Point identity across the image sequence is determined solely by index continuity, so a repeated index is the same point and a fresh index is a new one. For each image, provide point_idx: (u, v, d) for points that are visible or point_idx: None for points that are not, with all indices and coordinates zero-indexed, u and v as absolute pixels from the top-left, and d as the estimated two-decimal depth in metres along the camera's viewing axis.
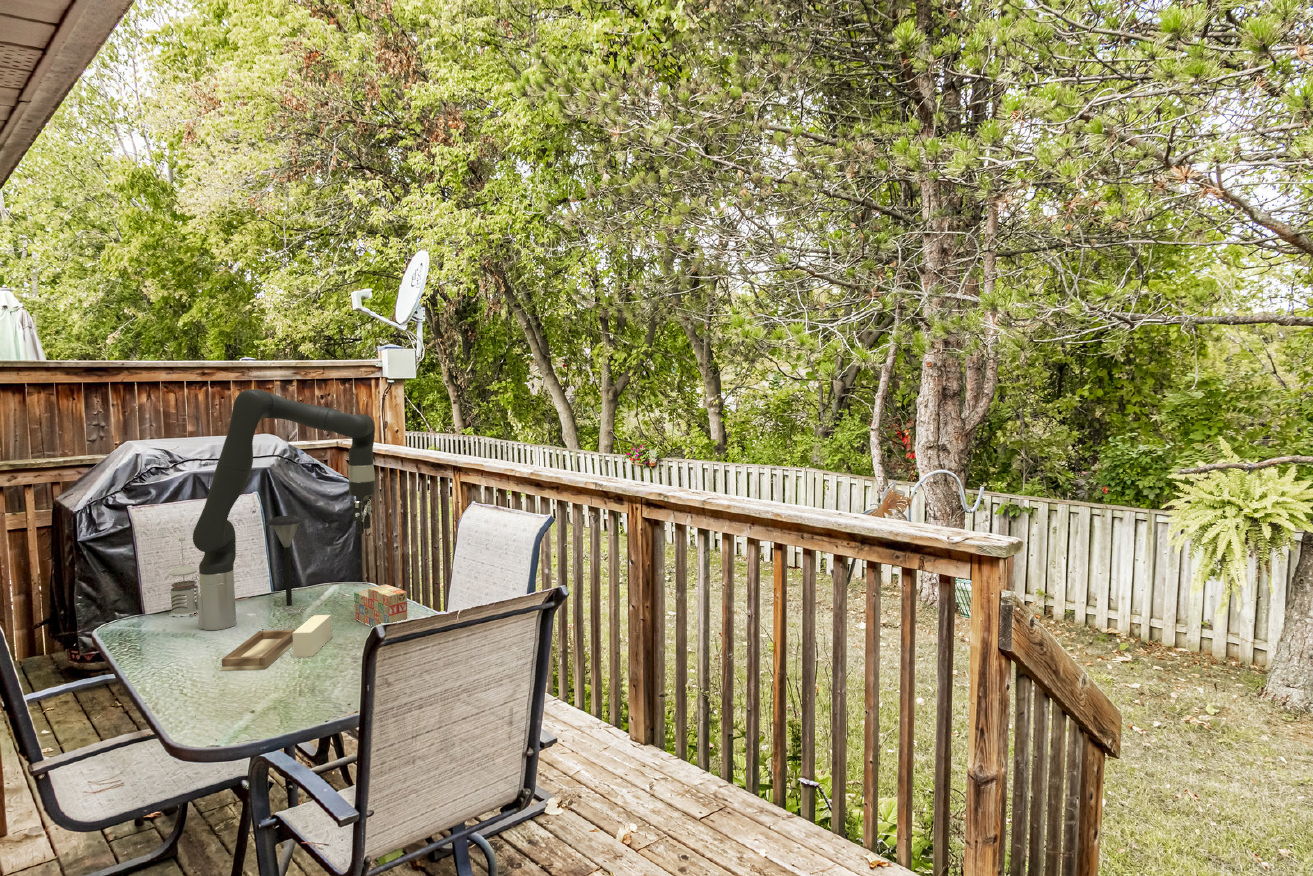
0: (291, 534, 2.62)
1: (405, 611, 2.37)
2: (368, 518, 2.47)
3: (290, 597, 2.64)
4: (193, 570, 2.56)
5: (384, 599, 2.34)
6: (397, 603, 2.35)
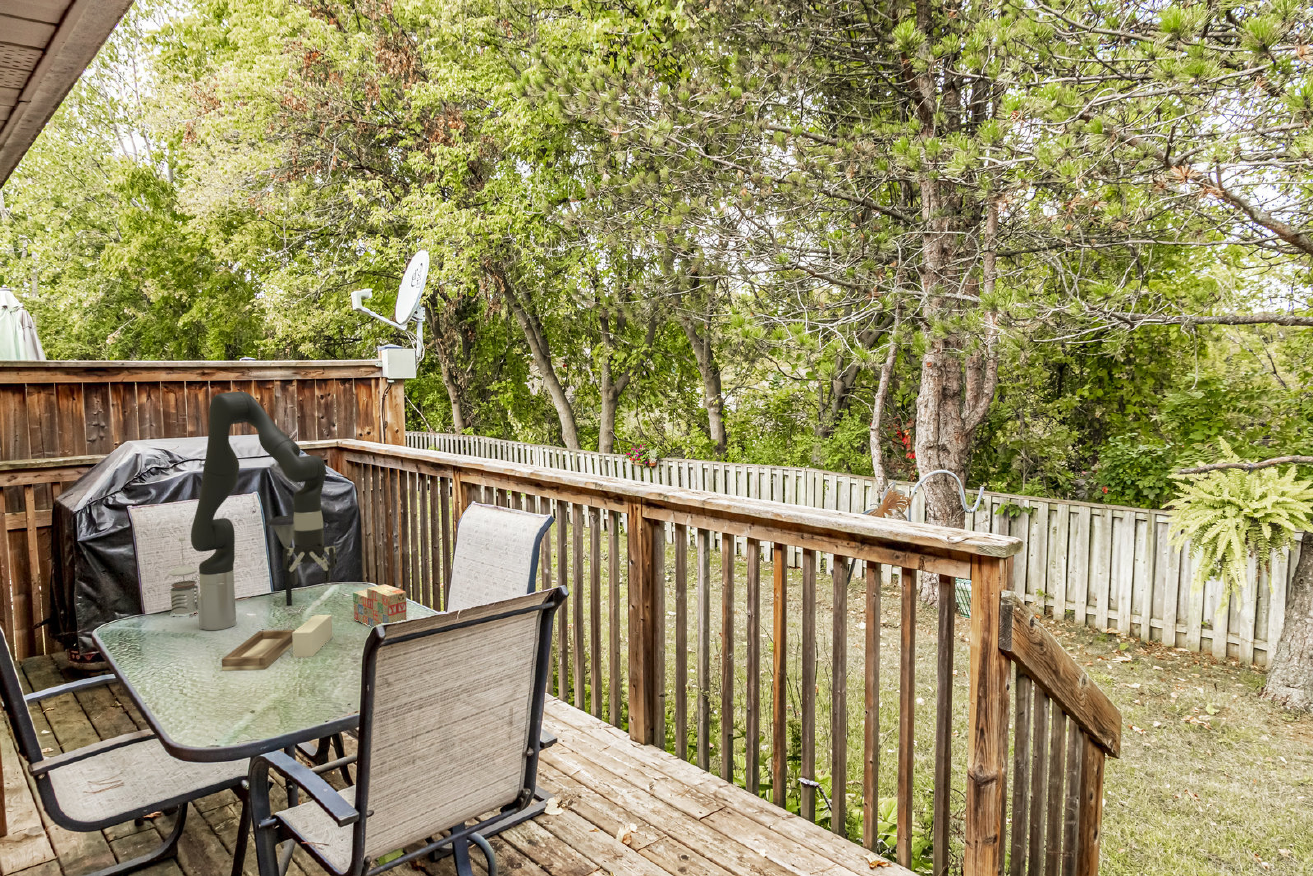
0: (291, 534, 2.62)
1: (404, 611, 2.37)
2: (296, 571, 2.22)
3: (290, 597, 2.64)
4: (193, 570, 2.56)
5: (383, 599, 2.34)
6: (396, 603, 2.35)
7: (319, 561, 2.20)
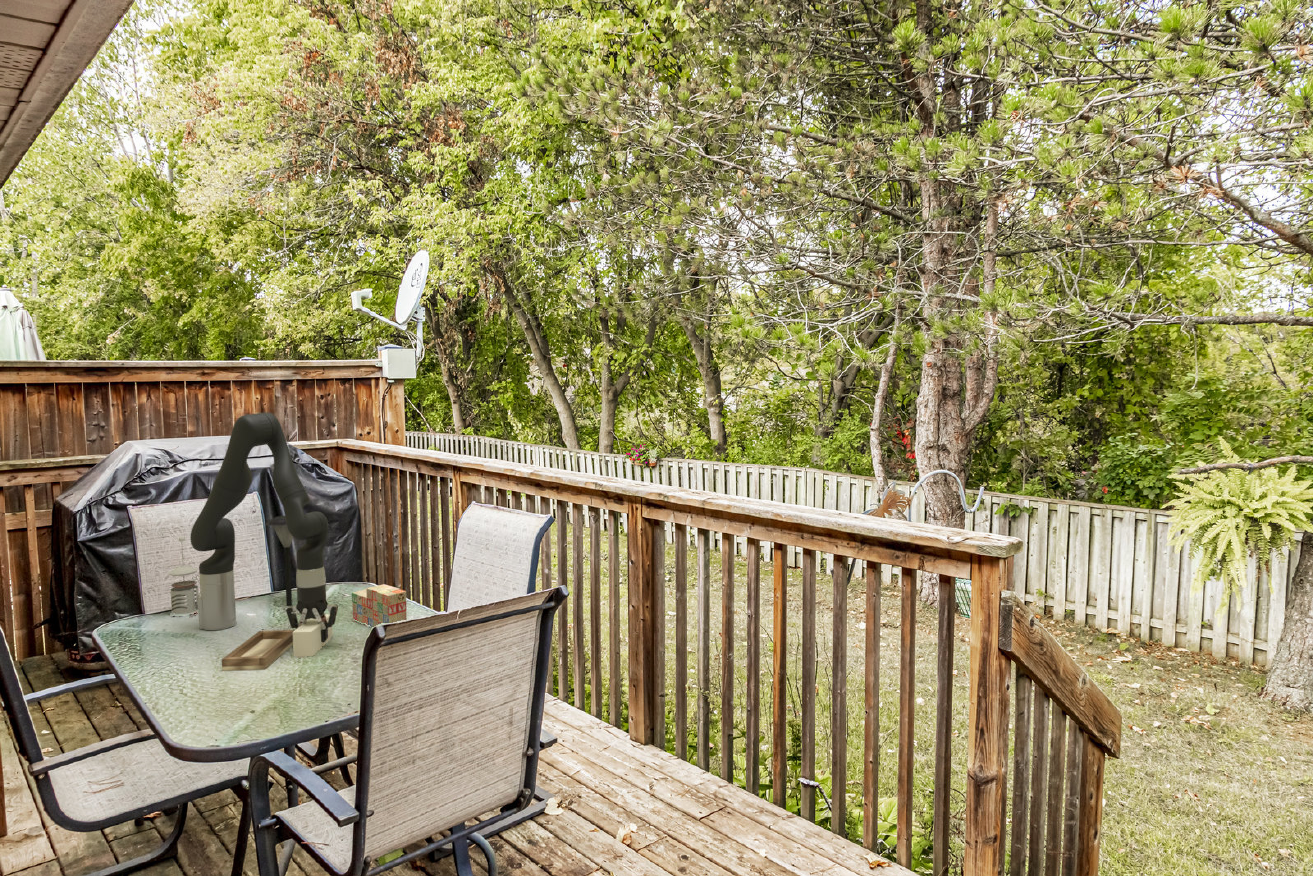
0: None
1: (404, 611, 2.37)
2: None
3: (290, 597, 2.64)
4: (193, 570, 2.56)
5: (384, 599, 2.34)
6: (397, 603, 2.35)
7: (319, 619, 2.22)
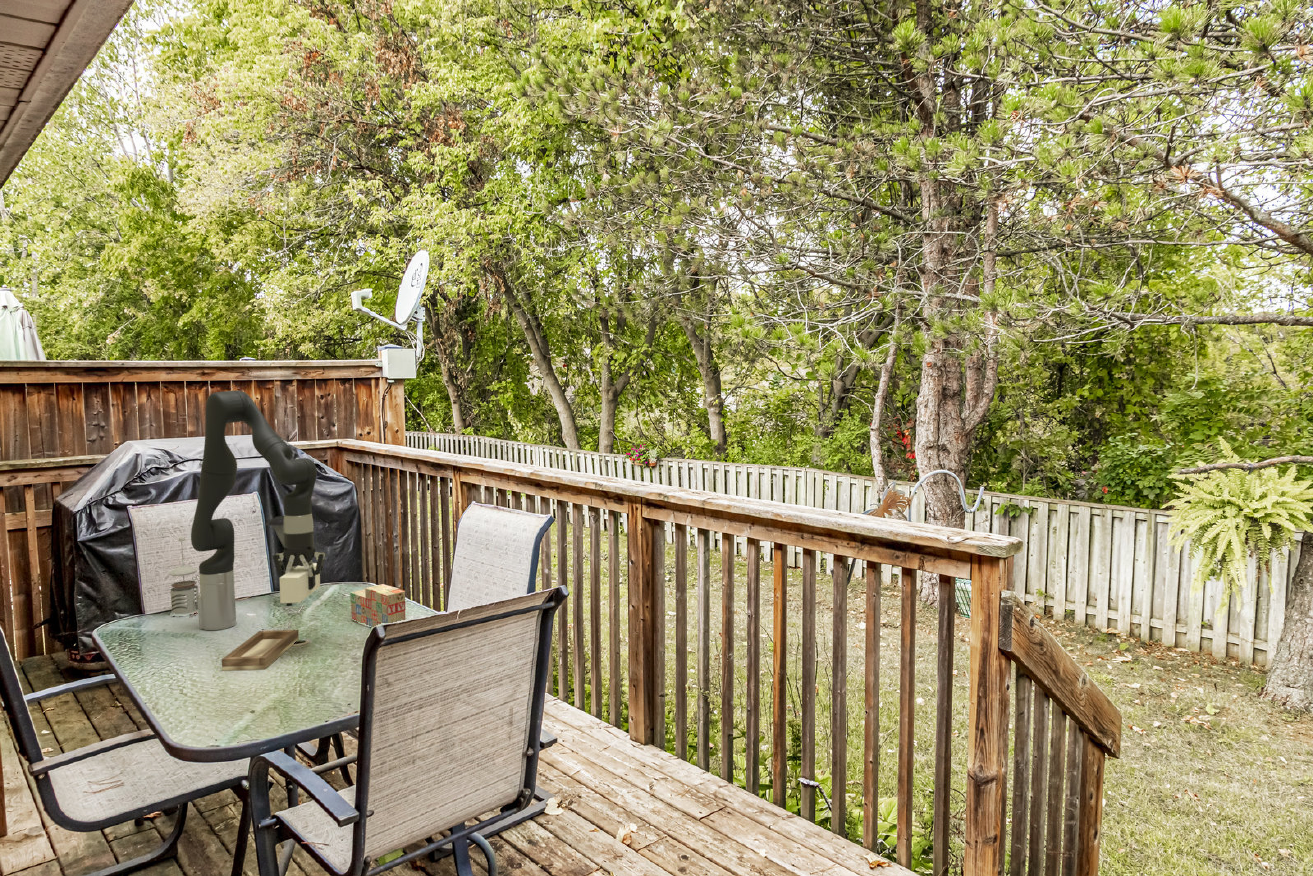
0: None
1: (403, 610, 2.38)
2: None
3: None
4: (193, 570, 2.56)
5: (383, 599, 2.34)
6: (396, 602, 2.35)
7: (306, 566, 2.20)
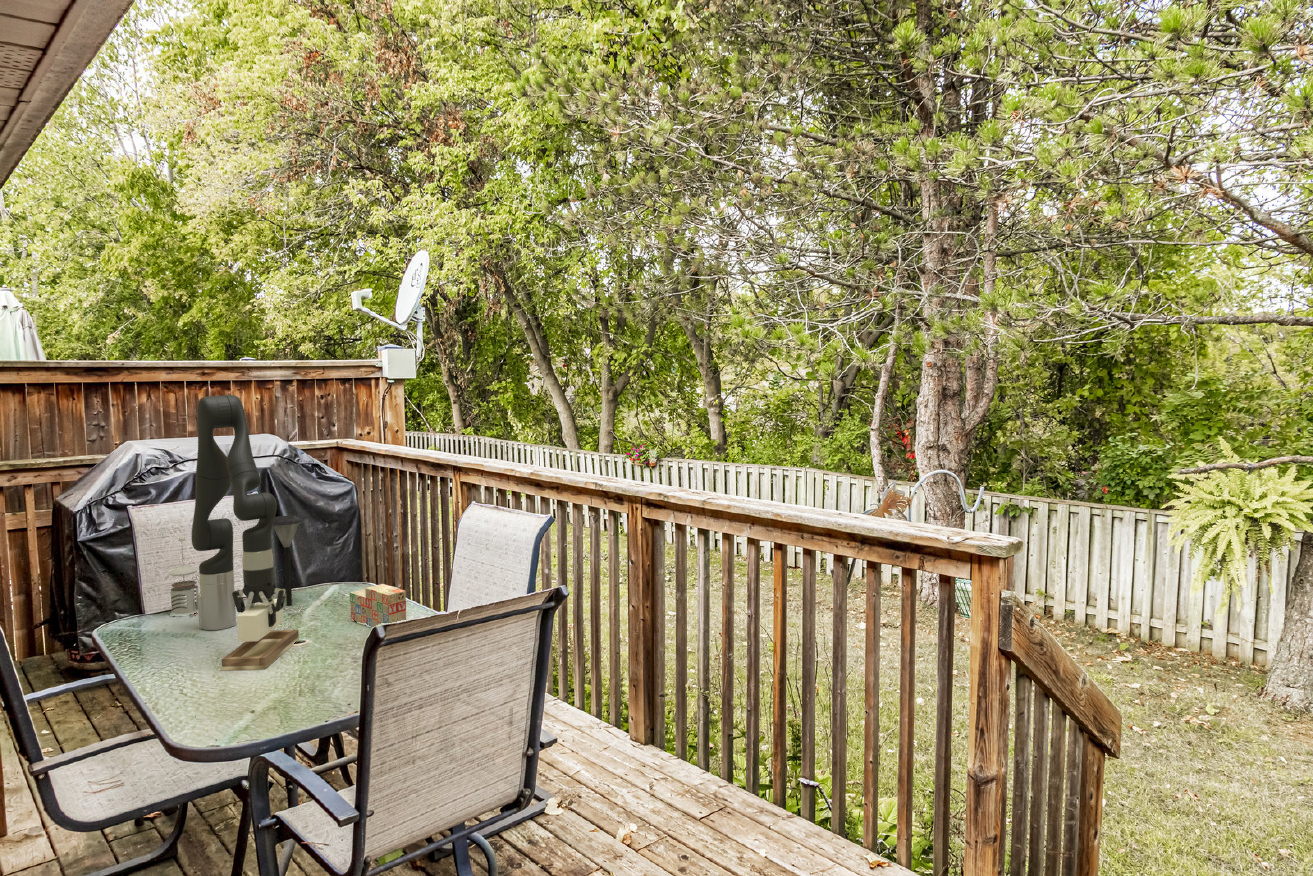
0: (291, 534, 2.62)
1: (404, 610, 2.38)
2: None
3: (290, 597, 2.64)
4: (193, 570, 2.56)
5: (383, 598, 2.35)
6: (396, 602, 2.36)
7: (266, 603, 2.15)
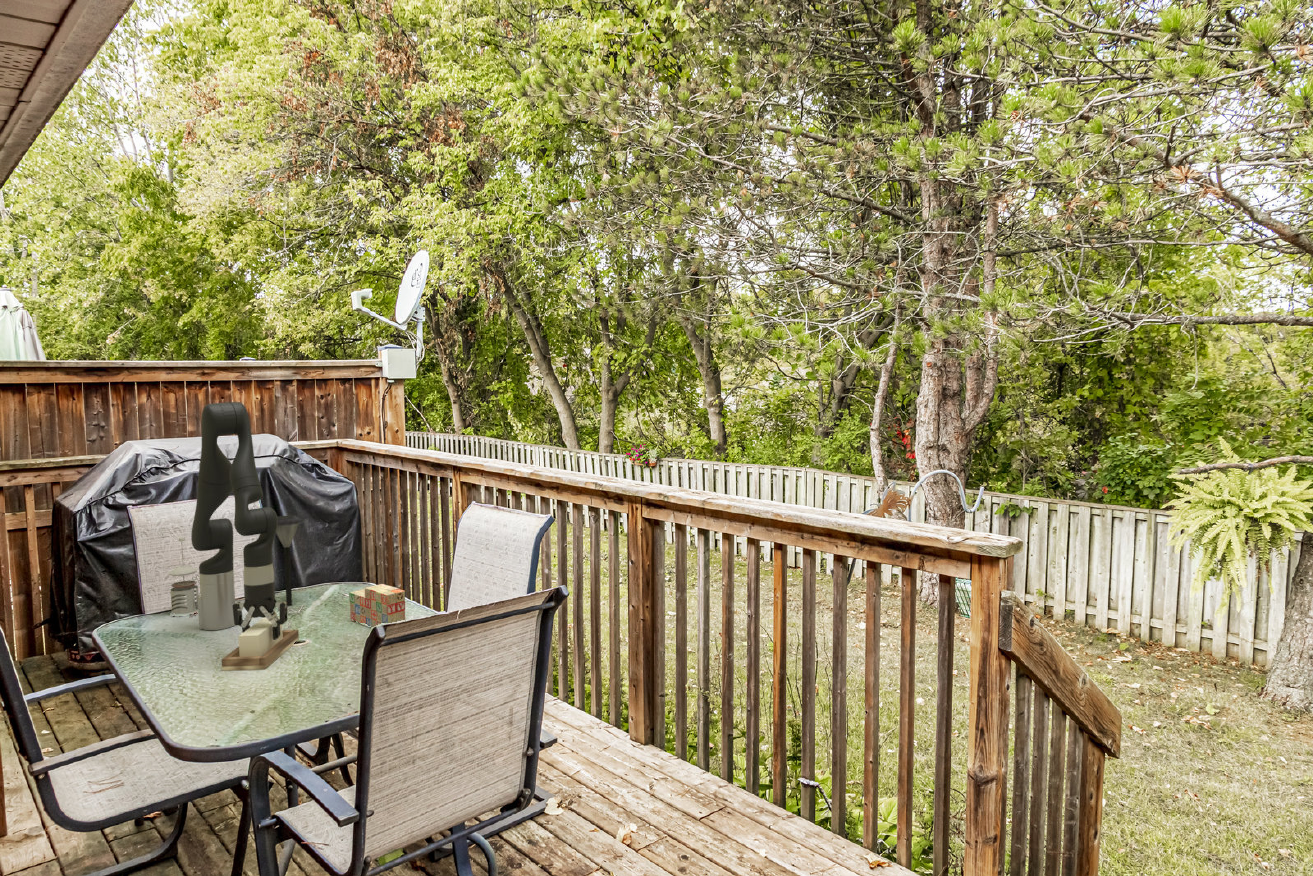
0: (291, 534, 2.62)
1: (403, 610, 2.38)
2: (249, 627, 2.18)
3: (290, 597, 2.64)
4: (193, 570, 2.56)
5: (382, 598, 2.35)
6: (395, 602, 2.36)
7: (269, 616, 2.16)
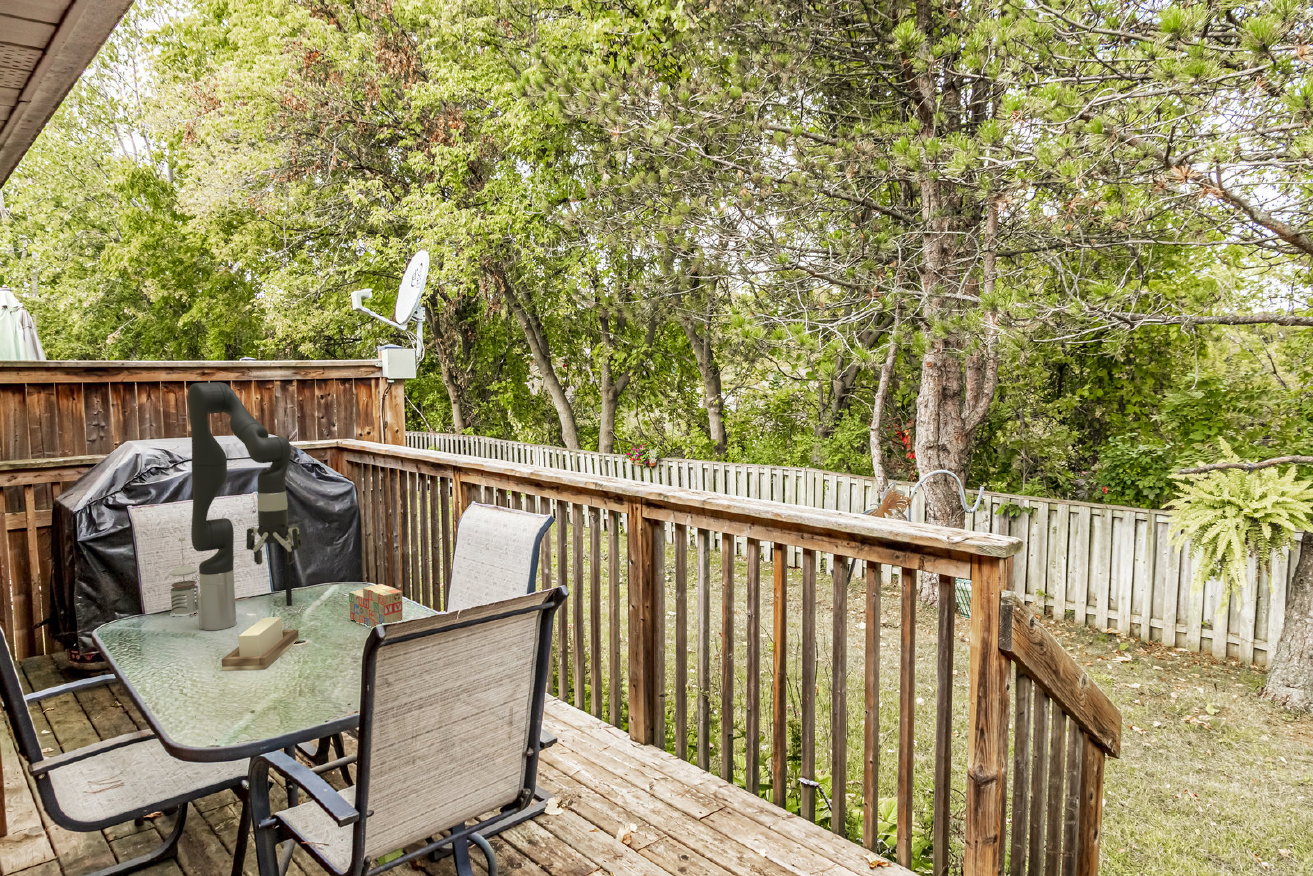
0: None
1: (400, 610, 2.37)
2: (261, 551, 2.24)
3: (290, 597, 2.64)
4: (193, 570, 2.56)
5: (379, 599, 2.34)
6: (392, 603, 2.35)
7: (282, 542, 2.21)
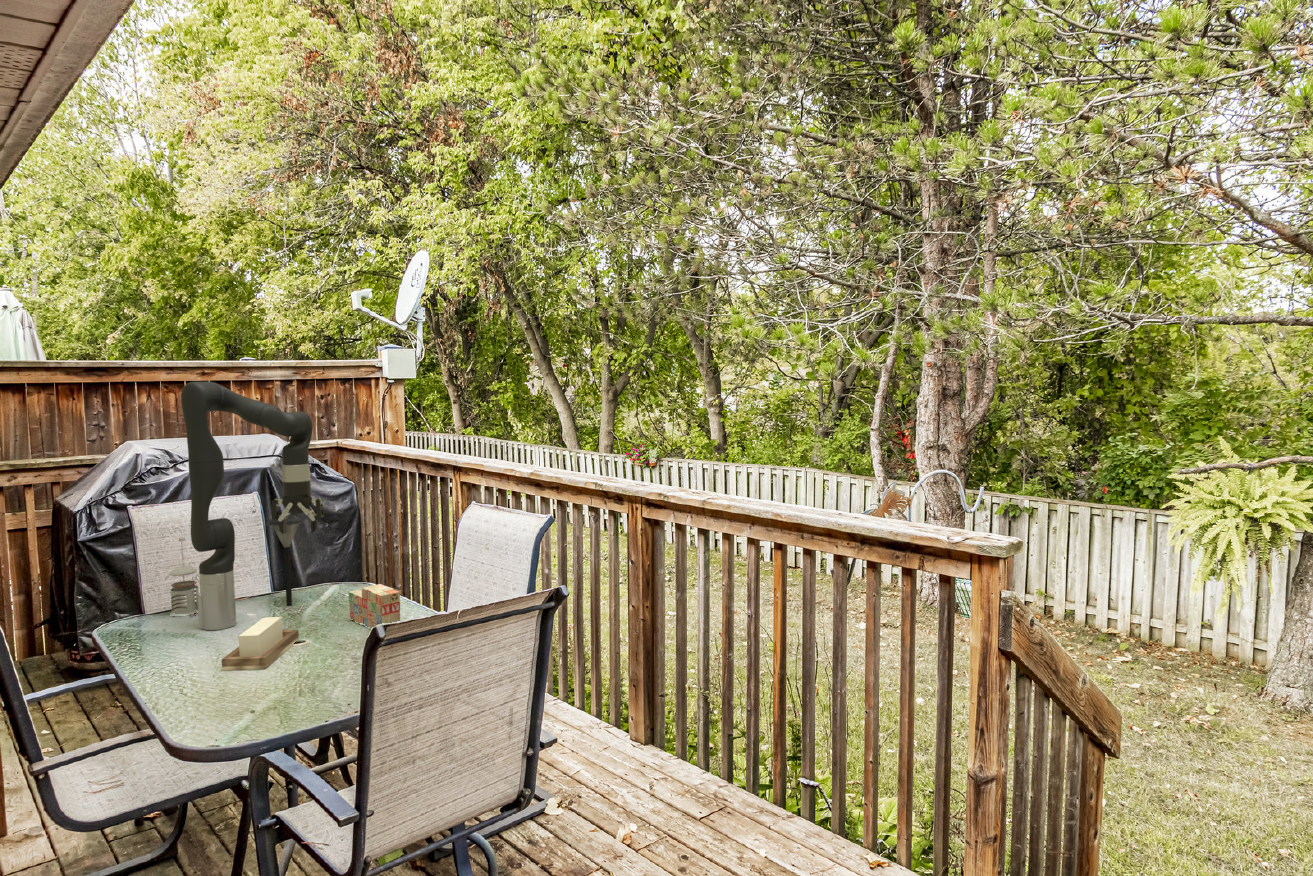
0: (291, 534, 2.62)
1: (398, 611, 2.37)
2: (285, 522, 2.35)
3: (290, 597, 2.64)
4: (193, 570, 2.56)
5: (377, 599, 2.34)
6: (390, 603, 2.35)
7: (306, 511, 2.33)
